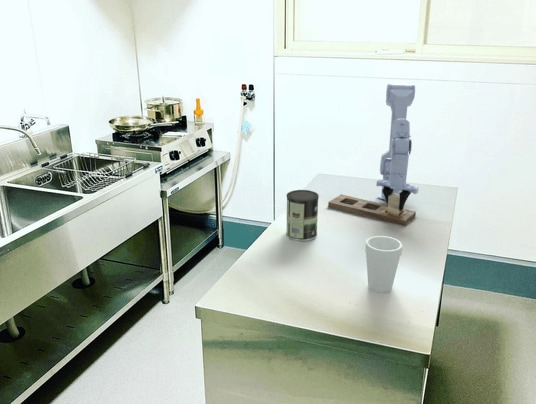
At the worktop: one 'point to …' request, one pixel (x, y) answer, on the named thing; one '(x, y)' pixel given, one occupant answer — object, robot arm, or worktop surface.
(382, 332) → the worktop surface
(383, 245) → the foam cup
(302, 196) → the coffee can
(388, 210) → the peg
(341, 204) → the brown slotted board
